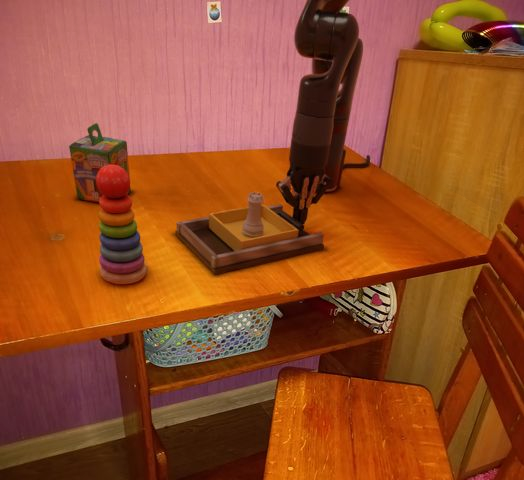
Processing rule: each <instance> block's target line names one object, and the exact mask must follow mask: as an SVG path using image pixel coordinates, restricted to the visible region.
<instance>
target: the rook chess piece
mask: <svg viewBox="0 0 524 480" xmlns="http://www.w3.org/2000/svg"><path fill="white" fill-rule="evenodd" d="M246 200H247V202H248V205H247V207H248V215H247V219H246V220H245V222H244V223H243V226H242V227H243V228H242V232H243V234H244V235H246V236H248V237H252V238H256V237H260V236H261V235H262V234H263V233H264V231H263V229H264V226H263V224H262V221H261V209H262V207H261V205H263V203H264V202H265V199H264V198H263V194H262V193H261V192H257V193H256V191H253V192H249V194H248V196H247V198H246Z"/></svg>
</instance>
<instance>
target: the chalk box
mask: <svg viewBox="0 0 524 480" xmlns="http://www.w3.org/2000/svg"><path fill="white" fill-rule="evenodd" d="M86 129H87V133H88V135H86V136H84V137H81V138H79V139H77V140H76V141H74V142H72V143H70V144H69V146H68V149H69V154H70V155H69V156H70V160H71V167H72V171H73V172H72V173H73V177H74V184H75V190H76V197H77V199H78V200H81V201H87V202H88V201H89V202H96V203H99V201H100V198H101V197H102V196H103V194H102V193H101V192H100V190H99V189H98V187H97V184H96V176H97V173H98V171H99V170H100V169H101V168H102V167H104V166H106V165H117V166H120V167H122V168H123V169H124V170H125V171H126V172H127V173H128V175H129V178H130V177H131V176H130V164H129V151H128V142H127V141H126V140H122V139H118V138H117V139H116V138H112V137H109V136H103V135H102V132H101V128H100V126H99V124H98V123H97V122H95V123H93V124H91V125H90V126H88V127H87V128H86ZM94 131H95V132H96V133H97V136H96V135H94V134H93V133H94ZM130 179H131V178H130ZM131 191H132V190H131V187H130V188H129V191H128V193H127V194H126V195H128V194H130V193H131Z"/></svg>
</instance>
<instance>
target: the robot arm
mask: <svg viewBox="0 0 524 480" xmlns="http://www.w3.org/2000/svg"><path fill="white" fill-rule="evenodd" d="M349 1H350V0H306V1H305V4H304V6H303V8H302V11H301V13H300V15H299V17H298V20H297V23H296V26H295V30H294V35H293V41H294V47H295V50H296V52H297V54H298V55H299V56H301V57H302V58H306V59H311V73H309V74H305V75H303V76H302V77H301V78H300V80H299V81H300V82H299V86H298V92H297V101H296V109H295V115H294V119H293V123H292V131H291V140H290V145H289V146H290V147H289V154H288V161H289V168H288V170H287V173H286V177H285V178H284V179H283V180H282V181H280V180H278V181H277V182H276V184H275V187H276V188H277V190H278V191H279V193H280V194H281V196H282V198H283V199H284V201H285V203H286V204H287V205H289V206H291V207H292V208H293V209H292V215H291V216H292V217H293V218H294V219H296V220H297V221H299V222H300V223H301V224H303V225H304V226H305V224H306V222H307V220H308V214H309V209H310V208H311V206H312V205H317V204H318V203H319V201H320V200H321V199H322V197H323V196H324V195H325V193H333V192H335V191H336V190H337V189H339V188H340V187H341V186H340V185H341V182H342V176H343V169H344V168H347V167H349V168H351V167H352V168H362V167H367V166H368V165H369V164H370V162H371V156H370V155H369V154H367V155H366V157H365V158H366V161H365V162H361V163H360V162H359V163H354V162H353V163H352V162H350V163H349V162H346V163H345V160H346V154H347V150H346V148H345V143H346V139H347V133H348V127H349V122H350V117H351V111H352V104H353V99H354V94H355V90H356V86H357V82H358V76H359V73H360V70H361V65H362V61H363V55H364V42H363V39H361V37H360V38H359V36H360V26H359V22H358V20H357V18H356V17H355V15H353V14H352V13H349V12H342V10H343V9H344V7H345V6H346V5H348V3H349ZM340 86H341V87H340Z"/></svg>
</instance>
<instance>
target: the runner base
mask: <svg viewBox="0 0 524 480" xmlns="http://www.w3.org/2000/svg"><path fill="white" fill-rule="evenodd" d="M267 207H268V208H269V209H270V210H272V211H273V212H275V213H276V212H278V210H280V209H282V210H283V211H284V205H282V204H274V205H269V206H267ZM175 236H176V237H177V238H178V239H179V240H180V241H181V242H182V243H183V244H184V245H185V246H186V247H187V248H188V249H189V250H190V251H191V252H192V253H193V254H194V255H195V256H196V257H197V258H198V259H199V260H200V262H202V263H203V264H204V265H205V266H206V267H207V268H208V269H209V270H210V271H211V272H212V273H213V274H214V275H220V274H224V273H228V272H233V271H236V270H240V269H245V268H250V267H255V266H259V265H262V264H266V263H271V262H276V261H279V260H284V259H288V258H292V257H296V256H301V255H305V254H309V253H314V252H317V251H318V252H319V251H322V250H324V248H325V244H324V237H325V234H324V233H322V232H319V233H314V234H309V232H307V231H305V230H304V229H303V230H302V231H298V238H295V239H290V240H285V241H281V242H276V243H271V244H267V245H262V246H257V247H253V248H248V249H243V250H239V251H234V250H233V249H232V248H231V247H230V246H228V245H227V244H226V243H225V242H224V241H223V240H222V239H221V238H220V237H218V236H217V235H216V234H215V233H214V232H213V231H212V230H211V229H210V228H209V216H204V217H200V218H194V219H188V220H187V219H186V220H182V221H176V229H175Z"/></svg>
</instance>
